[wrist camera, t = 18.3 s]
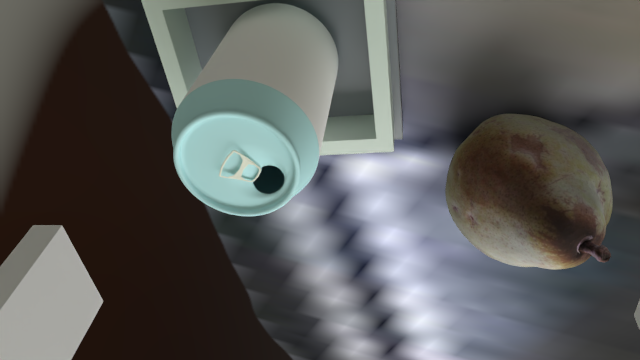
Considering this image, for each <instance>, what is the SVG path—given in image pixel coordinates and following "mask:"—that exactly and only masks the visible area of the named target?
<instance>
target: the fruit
mask: <svg viewBox="0 0 640 360" xmlns="http://www.w3.org/2000/svg"><path fill="white" fill-rule="evenodd" d="M445 193H446V201H447V205H448V209H449V212H450V214H451V216H452V218H453V221H454V222H455V224H456V225H457V227H458V228H459V230H460V231H461V232H462V234H463V235H464V236H465V237H466V238H467V239H468V240H469V241H470V242H471V243H472V244H473V245H474V246H475V247H476V248H477V249H479V250H480V251H481V252H483V253H484V254H486V255H487V256H489V257H491V258H493V259H496V260H498V261H501V262H503V263H507V264H510V265H514V266H521V267H535V266H536V267H540V268H547V269H565V268H571V267H575V266H577V265H580V264H582V263H583V262H585V261H586V260H588V259H589V258H590V256H591V255H592V256H594V257H595V258H596V259H597V260H598V261H600V262H607V261H609V258H610V257H611V253H610V252H609V250H608V248H606V247H605V246H603V245H600V244H601V243H602V241H603V239H604V236H605V231H606V225H607V224H608V222H609V219H610V216H611V212H612V202H613V198H612V190H611V181H610V177H609V174H608V171H607V169H606V167H605V165H604V164H603V162H602V160H601V158H600V156H599V154H598V152H597V151H596V150H595V149H594V148H593V147H592V145H591V144H590V143H589V142H588V141H587V140H586V139H585V138H583V137H582V136H581V135H579V134H578V133H576V132H574V131H573V130H571V129H569V128H567V127H565V126H563V125H560V124H557V123H554V122H551V121H548V120H546V119H543V118H540V117H536V116H531V115H523V114H500V115H496V116H493V117H491V118H489V119H487V120H485V121H483V122H482V123H481V124H480V125H479V126H478V127H477V128H476V129H475V130H474V131H473V132H472V133H471V134H470V135H469V136H468V137H467V138H466V139H465V141H464V142H463V143H462V144H461V145H460V146H459V147H458V148H457V150H456V151H455V154H454V156H453V158H452V161H451V164H450V166H449V171H448V175H447V182H446V191H445Z"/></svg>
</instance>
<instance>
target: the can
mask: <svg viewBox="0 0 640 360" xmlns="http://www.w3.org/2000/svg"><path fill="white" fill-rule="evenodd" d="M337 72H338V53H337V49H336V45H335V43H334V40H333V38H332V36H331V35H330V33H329V31H328V30H327V29H326V27H325V26H324V25H323V24H322V23H321V22H320V21H319V20H318V19H317V18H316V17H314V16H313V15H312V14H310V13H308V12H307V11H305V10H303V9H301V8H298V7H295V6H292V5H288V4H281V3H270V4H264V5H260V6H256V7H254V8H252V9H250V10H248V11H246V12H245V13H243V14H242V15H241V16H240V17H239V18H238V19H237V20H236V21H235V22H234V23H233V25H232V26H231V28H230V29H229V31H228V32H227V34H226V35H225V37H224V38H223V40H222V41H221V43H220V44H219V46H218V47H217V49H216V50H215V52H214V53H213V55H212V56H211V58H210V59H209V61H208V63H207V64H206V66H205V67H204V69H203V70H202V72H201V73H200V75H199V76H198V78H197V79H196V81H195V82H194V84H193V85H192V87H191V88H190V90H189V91H188V93H187V94H186V96H185V97H184V99H183V100H182V102H181V103H180V105H179V107H178V108H177V110H176V113H175V115H174V119H173V123H172V143H173V147H174V151H173V157H174V164H175V168H176V170H177V173H178V175H179V177H180V179H181V180H182V182H183V184H184V185H185V186H186V187H187V189H188V190H189V191H190V192H191V193H192V194H193V195H194V196H196V197H197V198H198V199H199V200H201V201H202V202H203V203H205V204H206V205H208V206H210V207H212V208H214V209H216V210H219V211H221V212H224V213H228V214H232V215H238V216H259V215H264V214H268V213H271V212H273V211H275V210H277V209H279V208H281V207H282V206H284V205H285V204H286V203H287V202H288V201H289V200H290V199H291V198H292V197H293V196H295V195H296V194H298V193H299V192H300V191H301V190H302V189H303V188H304V187H305V186H306V185H307V184H308V183H309V181H310V180H311V178H312V177H313V175H314V173H315V171H316V168H317V165H318V161H319V156H320V151H321V147H322V142H323V137H324V133H325V128H326V123H327V119H328V114H329V109H330V105H331V100H332V95H333V91H334V86H335V81H336V77H337Z"/></svg>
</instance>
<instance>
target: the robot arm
mask: <svg viewBox="0 0 640 360" xmlns="http://www.w3.org/2000/svg"><path fill="white" fill-rule="evenodd" d="M102 303H103V300H102V298H101V296H100V294H99V293H98V291H97V289H96V287H95V285H94V283H93V282H92V280H91V278H90V276H89V274H88V272H87V270H86V269H85V267H84V265H83V263H82V261H81V260H80V258H79V256H78V254H77V252H76V250H75V248H74V247H73V245H72V243H71V241H70V239H69V237H68V236H67V234H66V232H65V230H64V228H63V227H62V225H33V226H32V227H31V229H30V230H29V231H28V232H27V234H26V235H25V236H24V238H23V239H22V240H21V241H20V243H19V244H18V245H17V246H16V248H15V249H14V250H13V251H12V253H11V254H10V255H9V256H8V258H7V259H6V260H5V262H4V263H3V264H2V265H1V267H0V360H71V359H72V357H73V355H74V353H75V352H76V350H77V348H78V346H79V344H80V343H81V341H82V339H83V337H84V335H85V334H86V331H87V330H88V328H89V326H90V325H91V323H92V321H93V319H94V317H95V315H96V314H97V312H98V310H99V308H100V306H101V305H102ZM634 317H635V319H636V322H637V324H638V327H639V329H640V300H639V303H638V306H637V308H636V311H635V314H634Z"/></svg>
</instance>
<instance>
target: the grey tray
mask: <svg viewBox="0 0 640 360" xmlns="http://www.w3.org/2000/svg"><path fill="white" fill-rule="evenodd" d="M141 1H142V4H143V7H144V10H145V13H146V16H147V19H148V22H149V25H150V28H151V31H152V34H153V37H154V40H155V43H156V46H157V49H158V52H159V55H160V58H161V61H162V64H163V68H164V71H165V74H166V77H167V80H168V83H169V86H170V89H171V92H172V95H173V98H174V101H175V104H176V107H177V108H178V107H179V105H180V103H181V102H182V100H183V99H184V97H185V96H186V94H187V93H188V91H189V90H190V88H191V87H192V85H193V84H194V82H195V81H196V79H197V78H198V76H199V75H200V73H201V72H202V70H203V69H204V67H205V66H206V64H207V63H208V61H209V59H210V58H211V56H212V55H213V53H214V52H215V50H216V49H217V47H218V46H219V44H220V43H221V41H222V40H223V38H224V37H225V35H226V34H227V32H228V31H229V29H230V28H231V26H232V25H233V23H234V22H235V21H236V20H237V19H238V18H239V17H240V16H241V15H242V14H243V13H245V12H246V11H248V10H250V9H252V8H254V7H256V6H260V5H264V4H270V3H281V4H288V5H292V6H295V7H298V8H301V9H303V10H305V11H307V12H308V13H310V14H312V15H313V16H314V17H316V18H317V19H318V20H319V21H320V22H321V23H322V24H323V25H324V26H325V27H326V29H327V30H328V31H329V33H330V35H331V36H332V38H333V40H334V43H335V45H336V49H337V53H338V72H337V77H336V81H335V86H334V91H333V95H332V100H331V105H330V109H329V114H328V119H327V123H326V128H325V133H324V137H323V142H322V147H321V151H320V155H336V154H357V153H378V152H394V139H403V120H402V102H401V84H400V66H399V48H398V30H397V12H396V0H141Z"/></svg>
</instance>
